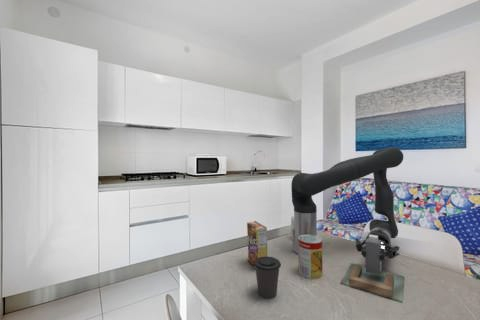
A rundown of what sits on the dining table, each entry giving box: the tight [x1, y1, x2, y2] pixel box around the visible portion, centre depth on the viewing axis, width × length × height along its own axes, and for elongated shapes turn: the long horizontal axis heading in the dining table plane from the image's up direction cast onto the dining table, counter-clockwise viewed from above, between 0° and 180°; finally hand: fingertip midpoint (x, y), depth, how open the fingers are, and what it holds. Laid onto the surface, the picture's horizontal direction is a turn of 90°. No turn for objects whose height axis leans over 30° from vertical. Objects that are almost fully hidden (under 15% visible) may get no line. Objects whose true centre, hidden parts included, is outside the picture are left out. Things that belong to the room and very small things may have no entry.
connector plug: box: [365, 234, 382, 276], centre depth 75 cm, size 4×4×12 cm
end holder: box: [339, 263, 405, 303], centre depth 73 cm, size 16×16×2 cm
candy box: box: [246, 220, 269, 266], centre depth 85 cm, size 9×4×15 cm, turn 23°
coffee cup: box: [253, 256, 282, 300], centre depth 67 cm, size 8×8×10 cm
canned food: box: [298, 235, 323, 280], centre depth 79 cm, size 8×8×12 cm
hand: (372, 255), depth 72 cm, fingers closed on connector plug, 4 cm apart
